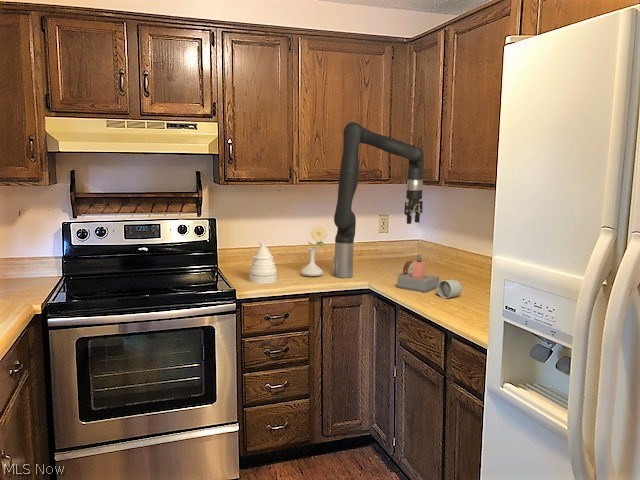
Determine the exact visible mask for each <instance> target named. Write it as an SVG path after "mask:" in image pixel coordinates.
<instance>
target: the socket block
mask: <svg viewBox="0 0 640 480" xmlns="http://www.w3.org/2000/svg"><path fill="white" fill-rule="evenodd" d="M439 283H440V276H437V275H432V274H431V275H430V274H425V278H423V279H419V278H413V277H412V273H409V274H406V275H404V274H402V275H400V276H397V284H396V285H397V287H396V288H397V289H402V290H408V291H413V292H419V293H426V294H427V293H428V292H430V291H433V290H435V289H436V290H437V287H438V284H439Z"/></svg>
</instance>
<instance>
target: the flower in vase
mask: <svg viewBox="0 0 640 480" xmlns="http://www.w3.org/2000/svg"><path fill="white" fill-rule="evenodd" d="M310 232H311V233H310V236H311V238H312V240H314V241H315V245H314V243H311V242H309V241H307V243H308V244H309V245H312V246H313V247H307V248H306V249H307V251H308V253H309V263H308V264H307V265H306V266H304V267H303V268H302V269H301V270H300V275H303V276H306V277H319V276H322V275H323V274H324V270H323V269H322V268H320V267H319V266H318V265H317V264H316V261H315V257H316V256H315V255H316V252H317V250H318V248H316V246H317V245H318V246H319V247H324V246H326V243H324V242H323V241H325V240H326V237H327V236H328V233H327V230H326V228H324V227H322V226H315V227H314V228H312V229H311V231H310Z"/></svg>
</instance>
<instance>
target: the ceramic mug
mask: <svg viewBox="0 0 640 480" xmlns="http://www.w3.org/2000/svg"><path fill="white" fill-rule="evenodd" d="M462 291H463V287H462V284H461V282H460V281H458V280H455V279H448V280H447V279H445V280H444V279H443V280H440V281H439V284H438V287H437V288H436V290H435V295H439V297H441V298H442V299H451V298H455V297H458V296H460V295H461V293H462Z"/></svg>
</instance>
